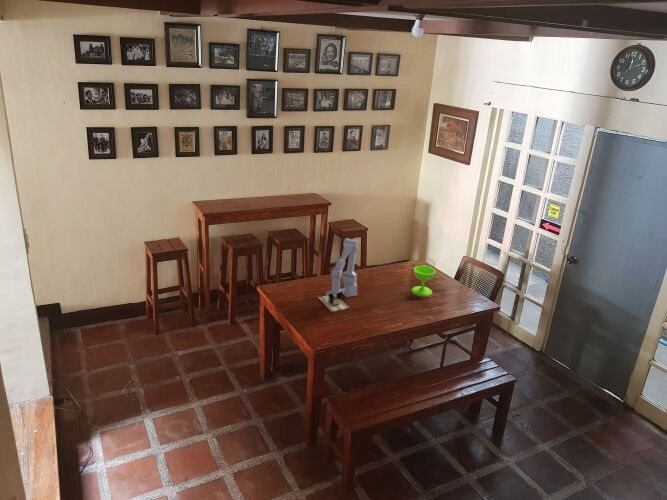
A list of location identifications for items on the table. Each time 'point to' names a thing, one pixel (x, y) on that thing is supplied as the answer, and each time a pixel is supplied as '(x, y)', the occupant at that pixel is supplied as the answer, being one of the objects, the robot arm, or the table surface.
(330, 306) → the birch board
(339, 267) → the robot arm
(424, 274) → the wineglass
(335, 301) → the block
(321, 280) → the table surface
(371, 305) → the table surface
